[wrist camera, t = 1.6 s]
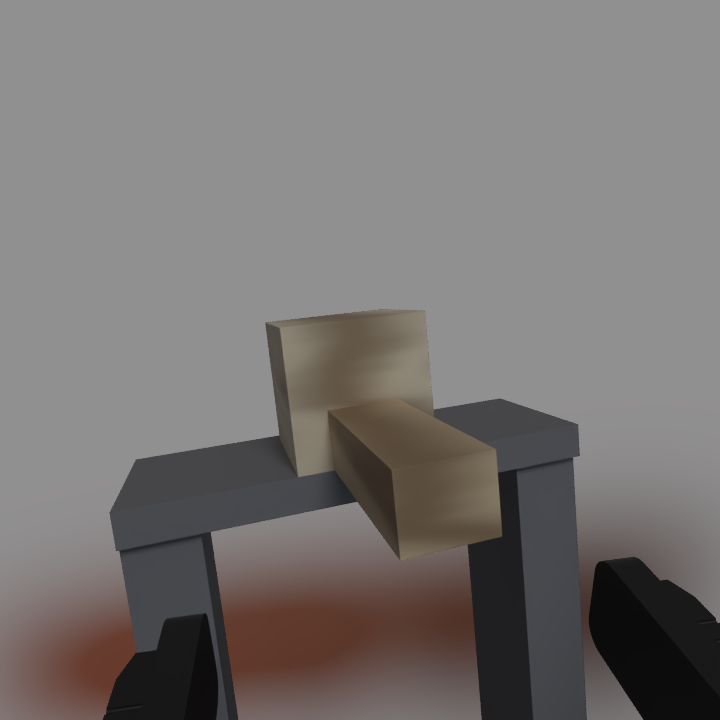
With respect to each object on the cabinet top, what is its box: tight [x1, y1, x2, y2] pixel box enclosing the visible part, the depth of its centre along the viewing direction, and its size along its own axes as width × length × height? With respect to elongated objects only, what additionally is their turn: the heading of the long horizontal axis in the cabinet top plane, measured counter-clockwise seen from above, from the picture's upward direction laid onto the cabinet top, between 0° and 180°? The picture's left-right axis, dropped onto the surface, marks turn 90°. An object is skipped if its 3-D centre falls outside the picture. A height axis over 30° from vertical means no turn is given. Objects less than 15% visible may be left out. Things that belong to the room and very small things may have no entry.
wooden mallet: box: [266, 309, 502, 560], centre depth 21 cm, size 6×14×6 cm, turn 15°
